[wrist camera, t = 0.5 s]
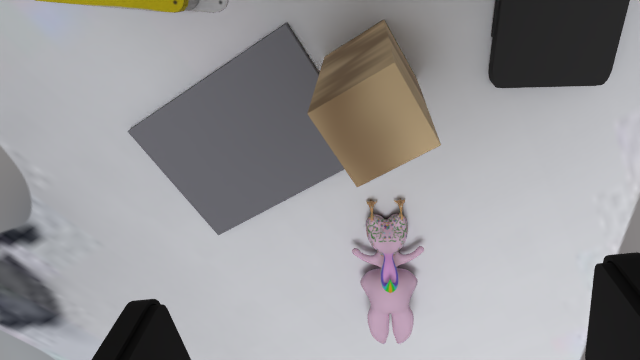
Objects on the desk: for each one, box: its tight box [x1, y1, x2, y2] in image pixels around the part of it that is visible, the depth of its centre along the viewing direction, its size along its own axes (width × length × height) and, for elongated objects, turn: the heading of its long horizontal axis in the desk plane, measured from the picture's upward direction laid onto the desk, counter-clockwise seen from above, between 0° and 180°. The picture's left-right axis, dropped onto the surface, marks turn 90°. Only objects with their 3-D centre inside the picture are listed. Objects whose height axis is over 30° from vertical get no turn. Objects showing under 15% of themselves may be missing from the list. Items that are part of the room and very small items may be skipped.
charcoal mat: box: [128, 23, 344, 235], centre depth 37 cm, size 16×12×1 cm
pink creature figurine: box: [352, 198, 424, 344], centre depth 40 cm, size 6×6×15 cm
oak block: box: [307, 20, 441, 187], centre depth 28 cm, size 5×5×12 cm
